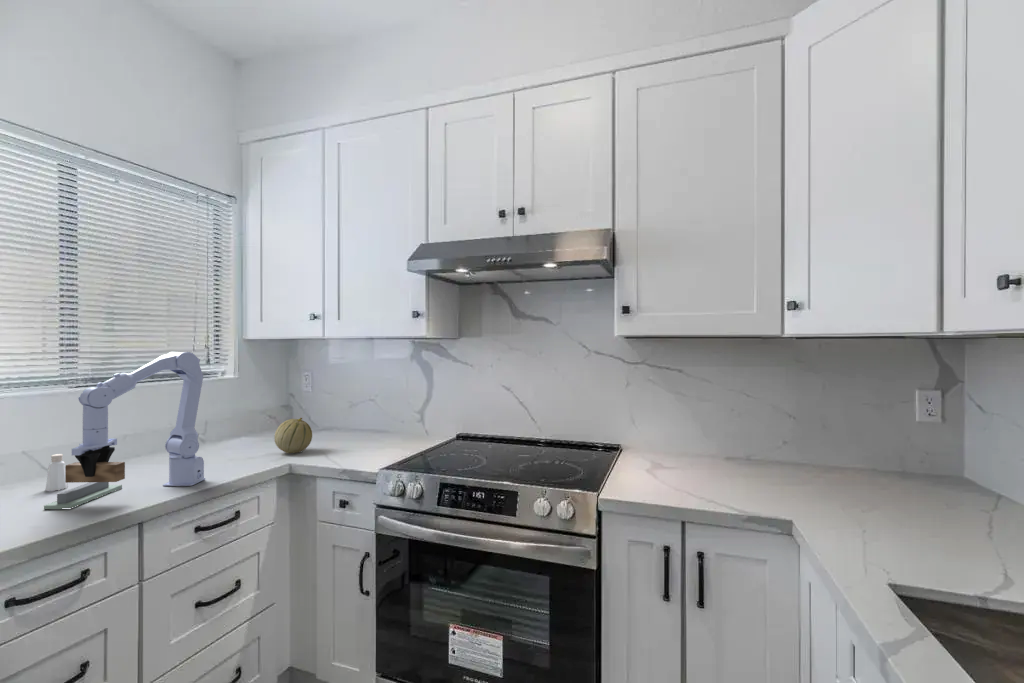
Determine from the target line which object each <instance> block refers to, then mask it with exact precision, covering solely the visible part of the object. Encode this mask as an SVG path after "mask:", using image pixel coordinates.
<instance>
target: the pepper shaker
mask: <svg viewBox="0 0 1024 683" xmlns="http://www.w3.org/2000/svg"><path fill="white" fill-rule="evenodd" d="M63 456H64V455H63V453H56V454H52V455H50V457H51V461H50V463H49V464H48V468H47V476H46V482H45V488H44V491H46V492H55V491H54V490H58V491H61V490H60V489H62V490H65V489H64V488H66V487H67V488H68V487H69V483H65V467H66V462H65V461H64V460H63V458H64V457H63ZM67 488H66V489H67Z"/></svg>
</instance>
